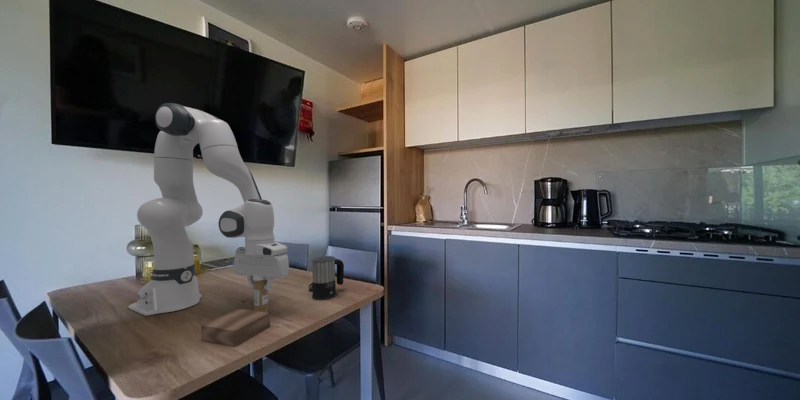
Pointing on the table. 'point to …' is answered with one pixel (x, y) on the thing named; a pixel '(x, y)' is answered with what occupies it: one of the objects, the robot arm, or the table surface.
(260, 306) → the sprinkles bottle
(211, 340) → the walnut pedestal
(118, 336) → the table surface
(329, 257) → the milk frother
